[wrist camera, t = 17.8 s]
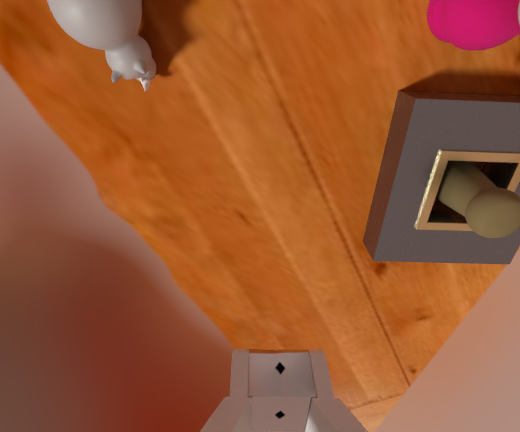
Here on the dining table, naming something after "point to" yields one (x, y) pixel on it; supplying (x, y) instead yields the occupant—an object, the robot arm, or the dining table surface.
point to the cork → (479, 200)
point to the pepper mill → (474, 22)
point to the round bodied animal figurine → (109, 34)
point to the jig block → (431, 172)
